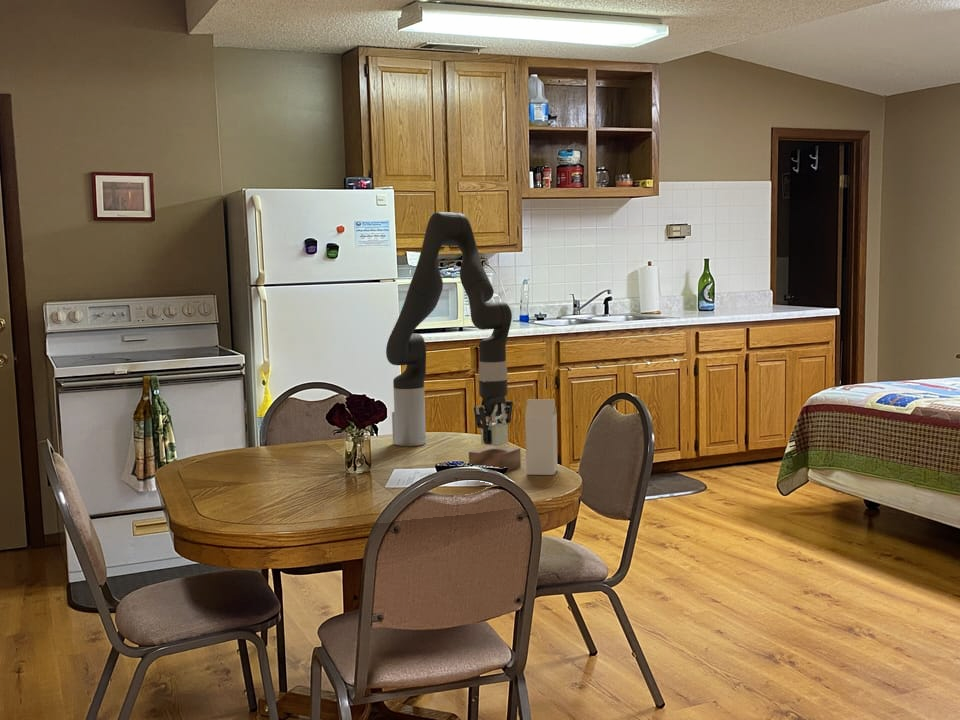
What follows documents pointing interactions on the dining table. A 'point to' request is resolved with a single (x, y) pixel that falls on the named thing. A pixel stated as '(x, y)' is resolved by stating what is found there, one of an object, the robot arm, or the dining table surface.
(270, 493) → the dining table surface
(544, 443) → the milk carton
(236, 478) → the dining table surface
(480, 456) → the walnut block
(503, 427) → the sage cube
